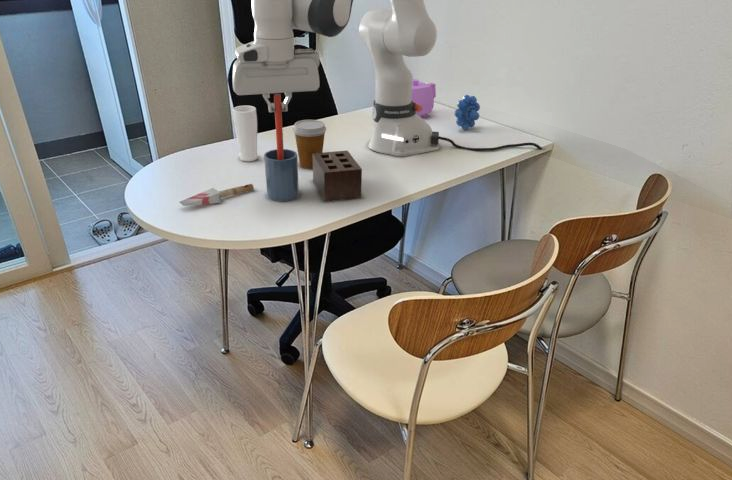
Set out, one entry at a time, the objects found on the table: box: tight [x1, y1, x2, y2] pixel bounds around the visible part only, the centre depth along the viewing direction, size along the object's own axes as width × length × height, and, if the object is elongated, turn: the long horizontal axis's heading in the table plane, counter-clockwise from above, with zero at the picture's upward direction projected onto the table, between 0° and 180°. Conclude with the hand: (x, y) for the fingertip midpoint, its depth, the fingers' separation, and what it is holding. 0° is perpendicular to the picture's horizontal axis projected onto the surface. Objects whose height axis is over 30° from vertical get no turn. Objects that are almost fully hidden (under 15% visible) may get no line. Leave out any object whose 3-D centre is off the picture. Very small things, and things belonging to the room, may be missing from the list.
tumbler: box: [263, 148, 300, 203], centre depth 143 cm, size 8×8×11 cm
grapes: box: [454, 94, 481, 131], centre depth 188 cm, size 12×7×12 cm, turn 126°
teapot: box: [411, 78, 437, 118], centre depth 201 cm, size 20×12×13 cm, turn 122°
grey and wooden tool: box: [178, 183, 255, 207], centre depth 142 cm, size 4×3×20 cm
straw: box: [273, 93, 284, 160], centre depth 136 cm, size 2×2×16 cm
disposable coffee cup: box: [292, 119, 327, 170], centre depth 160 cm, size 10×10×12 cm
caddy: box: [312, 150, 363, 203], centre depth 147 cm, size 10×14×8 cm
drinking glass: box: [232, 105, 259, 162], centre depth 163 cm, size 7×7×15 cm
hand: (278, 111), depth 134 cm, fingers closed on straw, 1 cm apart
